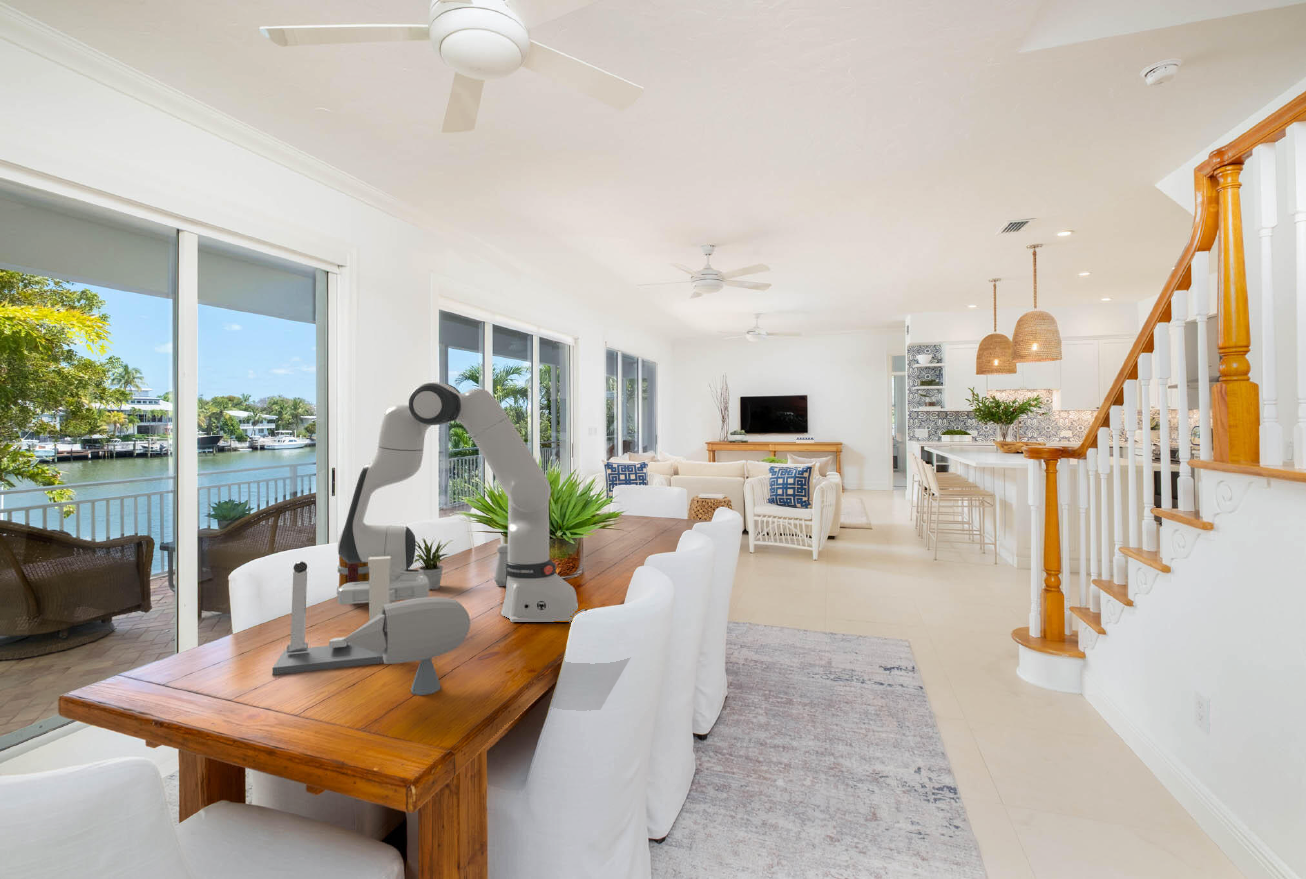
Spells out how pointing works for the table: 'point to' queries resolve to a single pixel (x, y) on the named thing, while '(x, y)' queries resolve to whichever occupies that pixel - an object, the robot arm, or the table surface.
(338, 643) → the block
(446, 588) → the table surface
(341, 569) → the mug
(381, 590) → the beige rectangular bar
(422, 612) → the jet engine
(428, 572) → the house plant
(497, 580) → the salt shaker
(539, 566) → the robot arm
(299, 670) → the console
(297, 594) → the steel toggle lever
